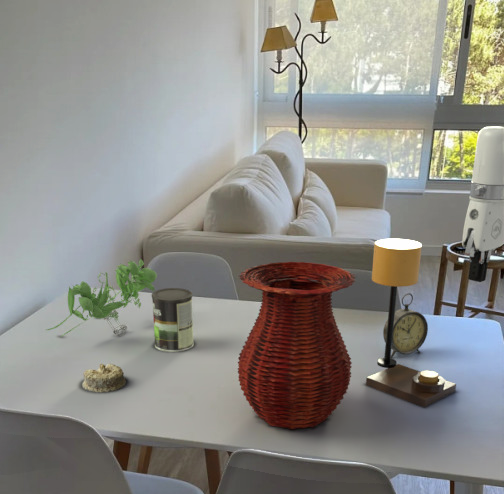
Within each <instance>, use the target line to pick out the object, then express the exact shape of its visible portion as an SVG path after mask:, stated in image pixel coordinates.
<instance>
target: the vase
mask: <svg viewBox="0 0 504 494" xmlns="http://www.w3.org/2000/svg"><path fill="white" fill-rule="evenodd" d="M238 277H239V280H241V281H242V284H245V285H247V286H248V287H250V288H253V289H256V290H258V291H261V294H262V296H261V298H262V299H261V303H260V308H259V309H258V311H259V312H258V315H257V317H256V318H255V322H253V323H254V325H253V326H252V329H250V332H249V333H248V336H247V337H246V339H247V340H245V341H244V345H243V346H242V349H241V350H240V353H238V355H239V357H238V359H237V360H238V361H237V364H238V368H237V374H238V376H237V377H238V380H237V381H238V382H239V386H240V390H241V391H243V393H242V395H243V396H244V397H245V399H246V400H245V401H247V402H248V404H249V406H250V407H251V408H252V410H253V412H254V413H256V415H257V416H258V418H260V419H261V420H262V421H264V422H265V423H267V424H268V425H270V426H271V427H272V426H273V427H277V428H283V429H288V430H299V429H307V428H315V427H316V426H318V425H319V424H321V423H324V422H325V421H326V420H327V419H328V417H330V416H331V415H332V414H333V412H334V411H335V410H336V409H337V408H338V406H339V405H340V404H341V401H342V400H344V399H345V398H344V396H345V395H346V394H347V390H349V386H350V384H351V383H350V382H351V377H352V372H351V369H352V363H353V362H352V361H351V360H352V358H351V357H350V354H349V353H348V352H349V350H348V349H347V345H346V344H345V340H343V336H342V333H341V332H340V329H339V326H338V324H337V322H336V319H335V316H334V312H333V311H334V308H332V307H333V305H332V304H333V302H332V300H333V298H332V296H333V295H332V294H333V293H334V292H338V291H340V290H343V289H347V288H349V287H350V286H353V285H354V284H353V283H355V282H356V276H355V274H354V273H352V272H350V271H349V270H345V269H343V268H342V267H339V266H336V265H335V266H334V265H328V264H325V263H316V262H305V261H285V262H279V261H277V262H270V263H265V264H264V263H263V264H258V265H256V266H250V268H246V269H245V270H244V271H242V272H240V275H238Z"/></svg>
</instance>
